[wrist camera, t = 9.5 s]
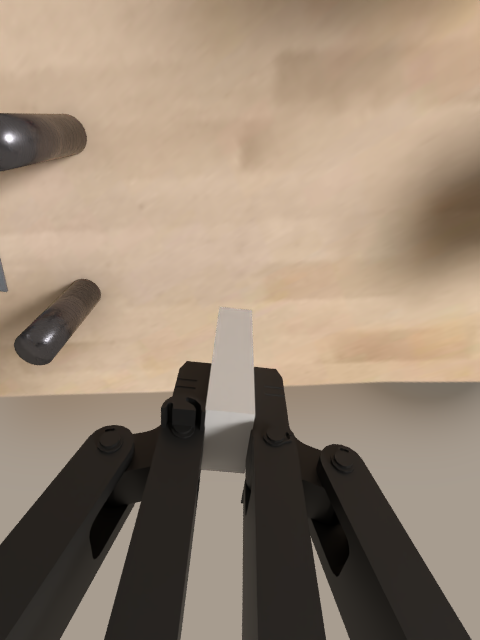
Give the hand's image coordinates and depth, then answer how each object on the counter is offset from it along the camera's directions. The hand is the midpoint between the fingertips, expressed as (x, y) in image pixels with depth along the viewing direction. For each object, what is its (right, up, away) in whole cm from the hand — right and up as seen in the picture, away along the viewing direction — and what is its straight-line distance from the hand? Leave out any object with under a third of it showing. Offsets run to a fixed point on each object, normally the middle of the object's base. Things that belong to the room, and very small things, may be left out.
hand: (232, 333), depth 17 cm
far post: (-13, +3, +15) cm, 20 cm away
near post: (-12, +14, +9) cm, 20 cm away
